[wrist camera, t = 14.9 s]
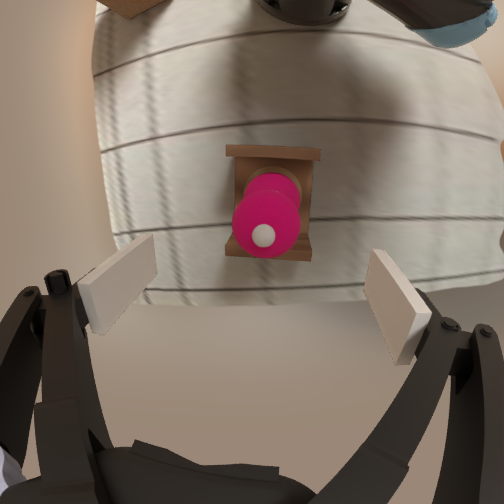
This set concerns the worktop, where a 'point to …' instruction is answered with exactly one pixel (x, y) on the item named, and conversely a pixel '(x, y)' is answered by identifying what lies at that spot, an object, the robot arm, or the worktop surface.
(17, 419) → the robot arm
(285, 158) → the holder
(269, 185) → the pepper mill
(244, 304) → the worktop surface
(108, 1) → the wooden block
